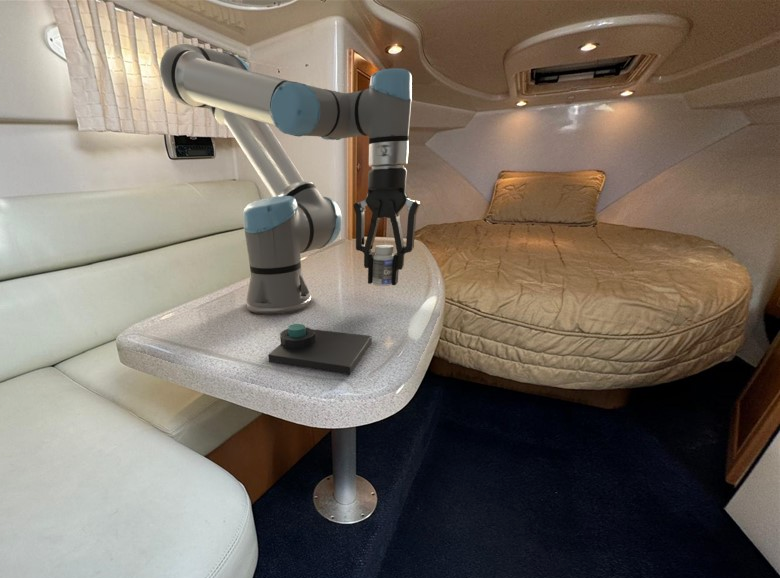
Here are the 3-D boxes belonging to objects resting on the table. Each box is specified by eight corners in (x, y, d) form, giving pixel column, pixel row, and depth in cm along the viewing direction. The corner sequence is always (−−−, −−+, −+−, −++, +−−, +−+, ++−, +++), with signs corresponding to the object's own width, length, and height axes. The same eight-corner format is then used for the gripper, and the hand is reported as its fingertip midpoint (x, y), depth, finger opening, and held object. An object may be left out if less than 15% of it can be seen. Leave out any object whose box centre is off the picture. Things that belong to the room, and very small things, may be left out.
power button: (285, 337, 62) (284, 329, 61) (293, 331, 64) (292, 322, 64) (301, 339, 61) (300, 331, 60) (308, 332, 63) (308, 324, 62)
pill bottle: (385, 288, 79) (387, 249, 76) (368, 284, 82) (368, 246, 79) (397, 283, 82) (399, 245, 79) (380, 280, 85) (381, 243, 82)
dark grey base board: (266, 361, 60) (264, 345, 59) (298, 334, 70) (296, 319, 68) (350, 375, 54) (349, 357, 53) (371, 343, 64) (372, 327, 63)
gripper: (338, 170, 72) (340, 284, 83) (431, 165, 65) (420, 290, 76) (350, 169, 78) (350, 276, 89) (436, 165, 71) (425, 281, 82)
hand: (382, 282), depth 82 cm, fingers closed on pill bottle, 5 cm apart
